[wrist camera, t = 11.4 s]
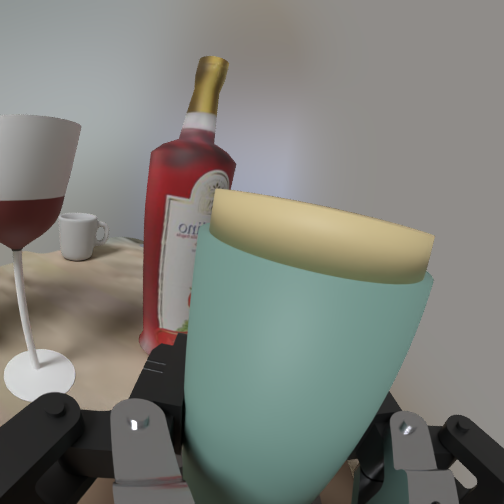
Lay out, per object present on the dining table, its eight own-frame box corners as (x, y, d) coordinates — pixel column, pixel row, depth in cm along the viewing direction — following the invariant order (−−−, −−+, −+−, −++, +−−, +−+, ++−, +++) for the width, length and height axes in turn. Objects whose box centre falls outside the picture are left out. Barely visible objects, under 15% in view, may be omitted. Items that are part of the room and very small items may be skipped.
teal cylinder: (178, 541, 6) (178, 187, 3) (188, 461, 11) (216, 186, 8) (298, 545, 6) (493, 254, 3) (286, 468, 11) (375, 217, 8)
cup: (102, 249, 53) (104, 212, 52) (113, 261, 48) (116, 219, 46) (55, 252, 45) (56, 212, 44) (61, 265, 40) (61, 220, 38)
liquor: (180, 327, 31) (217, 81, 25) (221, 359, 27) (272, 71, 21) (125, 341, 26) (159, 59, 20) (161, 382, 21) (209, 35, 15)
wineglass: (-4, 353, 16) (-18, 130, 11) (68, 342, 23) (71, 133, 18) (3, 411, 11) (-34, 114, 7) (93, 392, 18) (93, 120, 13)
